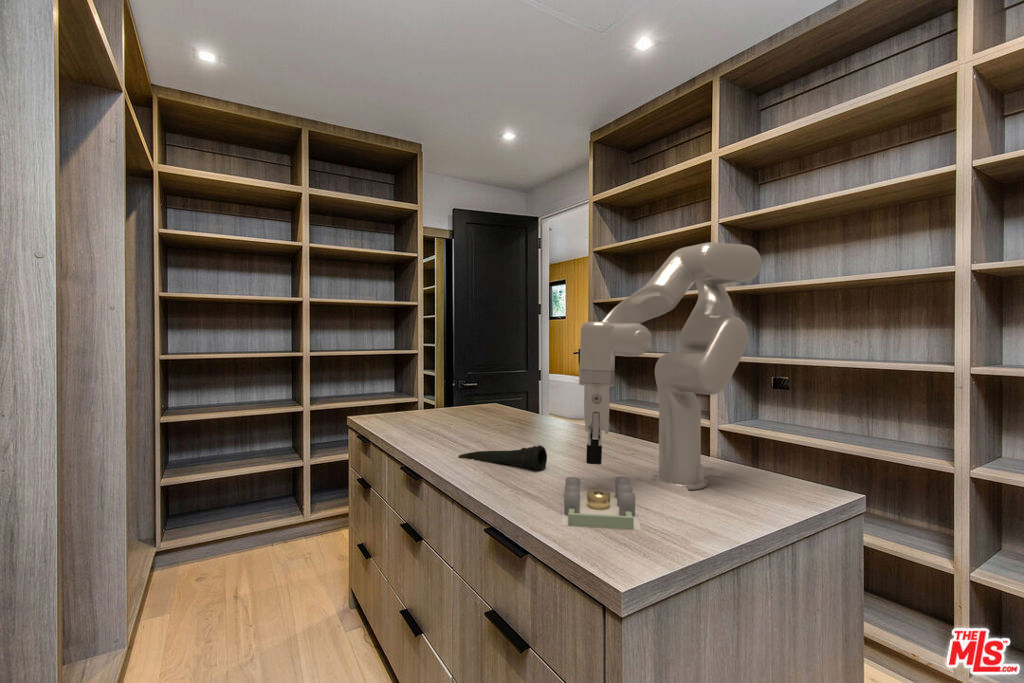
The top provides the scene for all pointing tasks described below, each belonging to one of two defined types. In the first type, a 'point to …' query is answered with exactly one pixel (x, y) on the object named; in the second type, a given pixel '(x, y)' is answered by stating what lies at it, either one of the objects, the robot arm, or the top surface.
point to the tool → (513, 457)
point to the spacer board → (614, 517)
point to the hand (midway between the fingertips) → (593, 463)
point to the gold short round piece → (598, 499)
